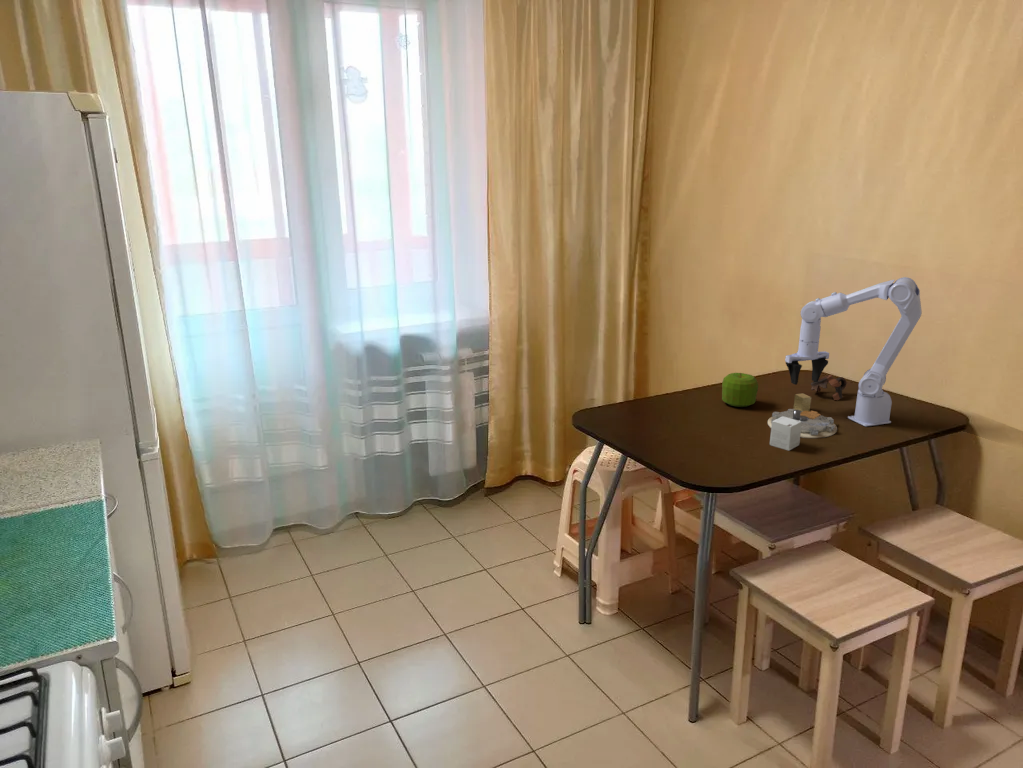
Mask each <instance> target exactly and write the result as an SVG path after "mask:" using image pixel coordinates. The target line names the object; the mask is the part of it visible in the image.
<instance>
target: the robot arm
mask: <svg viewBox="0 0 1023 768" xmlns="http://www.w3.org/2000/svg"><path fill="white" fill-rule="evenodd" d="M920 291H921V290H920V289H919V287H918V284H917V282H916V281H914V279H912V278H910V277H907V276H905V277H904V276H903V277H900V278H897V279H890V280H887V281H883V282H879V283H877V284H874V285H871V286H868V287H866V288H863V289H860V290H857V291H853V292H852V293H848V294H845V293H842V292H838V293H837V292H836V291H834V292H832V293H831V294H830V295H829V296H826V297H823V298H820V297H818V298H816V299H814V300H812V301H809V302H807V303H806V304H805V305H803V306H802V308H801V310H800V317H801V324H800V330H799V338H798V339H799V341H798V347H797V348H798V349H797V352H796V353H791V354H788V355H785V360H784V361H785V365H786V367H787V369H788V372H789V376H790V382H791V384H793V385H795V386H796V385H798V383H799V378H800V377H799V376H800V374H801V373H800V372H801V370H802V367H803V365H802V364H801V363H800V362H806V361H811V368H812V369H811V381H812V382H814V381H815V382H818V380H819V379H820V378H821V374H822V373H823V371H824V369H825V368H826V367H827V365H828V364H829V359H830V352H828V351H824V350H823V351H819V345H820V336H821V323H822V318H828V317H830V316H834V315H837V314H841V313H844V312H847V311H848V310H849V307H850V306H851V305H852V306H853V305H855V304H856V305H857V304H858V303H863V302H866V301H869V300H874V299H877V298H878V299H881V300H883V301H884V300H885V301H888V299H890V302H892V304H894V305H895V306H896V307H897V309H898V311H899V313H900V315H901V316H900V317H899V320H898V322H897V323H896V325H895V326H894V328H893V331H892V332H891V334H890V335H889V337H888V339H887V340H886V343H884V346H883V348H882V350H880V352H879V354H878V356H877V358H876V359H875V360H874V363H873V365H872V366H871V368H869V369H867V370H865V372H864V373H863V376H862V378H861V379H860V380H859V382H858V390H857V394H856V395H857V396H856V400H855V401H856V403H855V410H854V415H850V416H849V415H848V416H847V419H849V420H851V421H853V422H855V423H857V424H859V425H861V426H864V427H872V426H879V425H884V424H885V425H886V424H891V423H892V421H891V420H890V416H891V409H892V405H893V402H892V398H891V397H892V396H890V394H889V393H888V392H887V391H886V392H885V391H884V390H883V386H884V385H885V383H886V381H887V374H888V372H889V371H890V369H891V367H892V366H893V364H894V363H895V360H896V359H897V357H898V356H899V353H900V352H901V350H902V348H903V347H904V346H905V344H906V342H907V340H908V339H909V337H910V335H911V334H912V332H913V331H914V328H915V327H916V325H917V323H918V321H919V320H920V318H921V316H922V314H923V313H922V312H923V311H922V304H921V303H922V302H921V297H920V296H921V292H920Z"/></svg>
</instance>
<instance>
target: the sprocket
mask: <svg viewBox="0 0 1023 768" xmlns="http://www.w3.org/2000/svg"><path fill="white" fill-rule="evenodd" d="M771 414H772V415H771V417H772V418H775V419H772V420H771V424H772V421H774V420H776V419H778V418H780V417H782V416H784V417H787V418H791V419H794V420H798V421H801V422H802V425H801V432H802V433H809V434H810V435H818V433H819V432H823V431H829V432H832V431H833V430H834V425H831V424H833V423H834V420H835V419H833V418H832V417H830V416H829V417H827V416H824V415H821V413H819V412H818V411H815V410H810V412H809V411H800V410H795V409H794V408H788V409H787V410H785V411H781V412H779V411H773V412H772V413H771Z"/></svg>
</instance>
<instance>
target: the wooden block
mask: <svg viewBox="0 0 1023 768" xmlns="http://www.w3.org/2000/svg"><path fill="white" fill-rule="evenodd" d="M811 403H812V396H811V395H810V396H809V395H807V394H805V393H796V394H794V402H793V409H795V410H800V411H809V412H810V411H811Z"/></svg>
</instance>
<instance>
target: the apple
mask: <svg viewBox="0 0 1023 768" xmlns="http://www.w3.org/2000/svg"><path fill="white" fill-rule="evenodd" d="M721 388H722V389H721V401H723V402H724V403H726V404H727V405H729V406H732V407H735V408H736V407H737V408H739V407H740V408H743V407H744V408H745V407H749V406H752V405H754V404H755V402H756V400H757V396H758V390H759V382H758V379H757V378H756V377H755V376H754V375H752V374H748V373H744V372H731V373H728V374H727V375H726V376H724V377H723V380H722V383H721Z"/></svg>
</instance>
